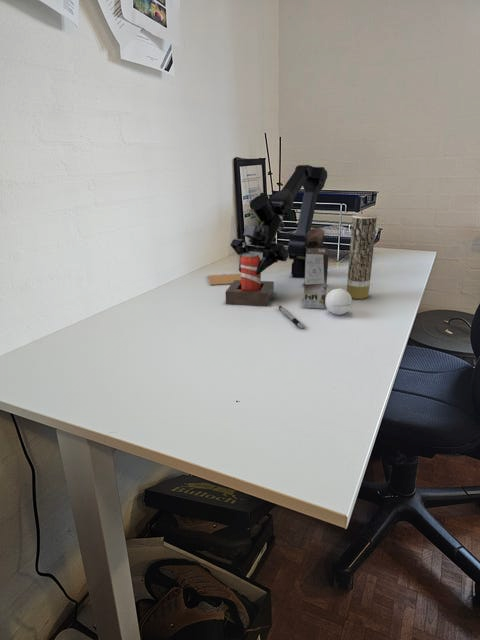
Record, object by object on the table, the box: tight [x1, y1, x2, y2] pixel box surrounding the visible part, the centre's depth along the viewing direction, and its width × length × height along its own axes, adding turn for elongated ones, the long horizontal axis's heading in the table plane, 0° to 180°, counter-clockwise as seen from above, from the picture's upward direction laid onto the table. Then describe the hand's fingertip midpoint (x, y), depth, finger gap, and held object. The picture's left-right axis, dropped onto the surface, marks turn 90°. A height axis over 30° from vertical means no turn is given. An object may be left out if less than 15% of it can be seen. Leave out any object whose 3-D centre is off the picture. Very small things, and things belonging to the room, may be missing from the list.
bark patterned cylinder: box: [346, 213, 378, 300], centre depth 122 cm, size 7×7×25 cm
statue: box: [302, 227, 325, 287], centre depth 134 cm, size 7×7×20 cm
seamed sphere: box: [325, 287, 362, 316], centre depth 111 cm, size 10×7×7 cm
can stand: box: [225, 280, 275, 307], centre depth 126 cm, size 13×13×4 cm
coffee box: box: [302, 247, 330, 310], centre depth 118 cm, size 9×6×16 cm
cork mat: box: [208, 273, 241, 286], centre depth 147 cm, size 12×12×1 cm
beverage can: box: [240, 252, 262, 290], centre depth 124 cm, size 6×6×12 cm
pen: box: [278, 305, 304, 329], centre depth 109 cm, size 1×16×1 cm, turn 16°
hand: (248, 272), depth 123 cm, fingers closed on beverage can, 6 cm apart
